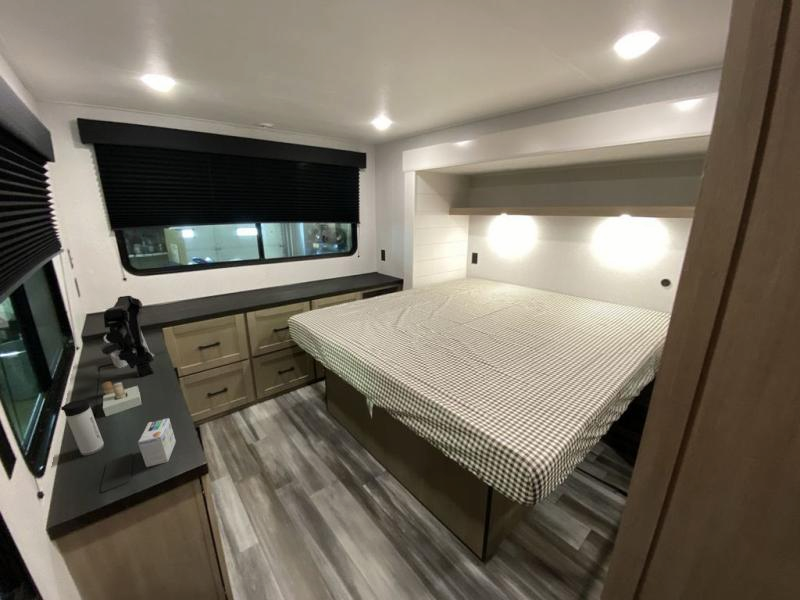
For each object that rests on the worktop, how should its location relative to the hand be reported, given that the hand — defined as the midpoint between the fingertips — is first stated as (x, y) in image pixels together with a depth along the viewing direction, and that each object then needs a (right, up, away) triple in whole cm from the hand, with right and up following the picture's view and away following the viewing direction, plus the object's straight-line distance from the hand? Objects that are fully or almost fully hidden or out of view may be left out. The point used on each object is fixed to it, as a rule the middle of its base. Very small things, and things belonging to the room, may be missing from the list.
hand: (132, 364), depth 153 cm
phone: (+33, -27, -46) cm, 63 cm away
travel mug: (+15, -24, -35) cm, 45 cm away
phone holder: (-25, -4, +31) cm, 40 cm away
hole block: (+4, -16, -9) cm, 19 cm away
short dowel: (-9, -14, -2) cm, 16 cm away
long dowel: (+4, -16, -9) cm, 19 cm away
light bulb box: (+42, -24, -38) cm, 62 cm away
